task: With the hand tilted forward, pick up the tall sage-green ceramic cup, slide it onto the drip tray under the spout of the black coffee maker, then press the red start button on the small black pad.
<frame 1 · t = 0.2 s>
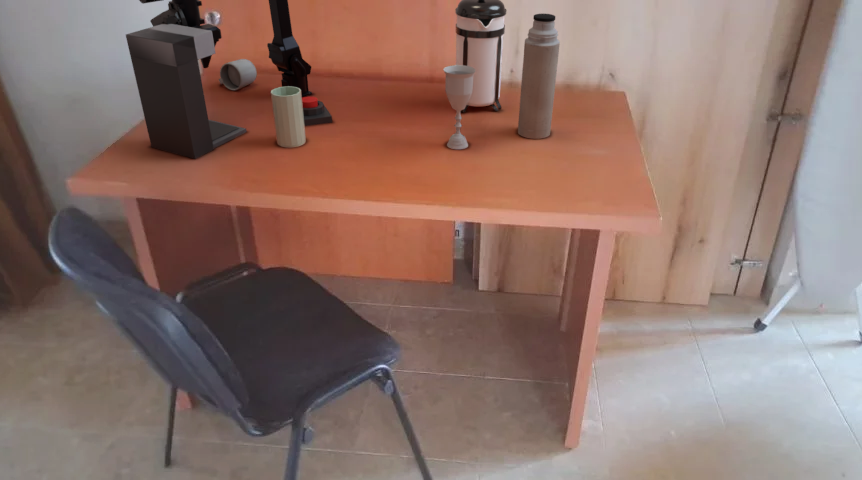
hand: (196, 63, 170), 15 cm above the table, tool pointing down, fingers open, 9 cm apart
coffee maker: (200, 139, 168), on the table
chalice: (457, 145, 166), on the table
button pad: (310, 117, 180), on the table
thermos bottle: (533, 133, 172), on the table
cup: (291, 142, 167), on the table
coffee press: (474, 104, 189), on the table
start button: (308, 102, 178), point 4 cm above the table, slide at 0.1 cm
ceramic mug: (236, 86, 201), on the table
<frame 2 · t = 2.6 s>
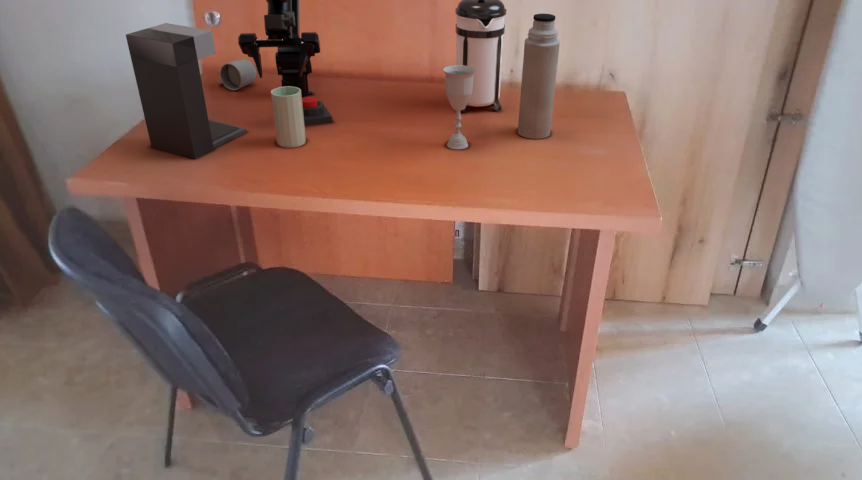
hand: (280, 76, 166), 13 cm above the table, tool tilted 40°, fingers open, 9 cm apart
nothing on the table moved.
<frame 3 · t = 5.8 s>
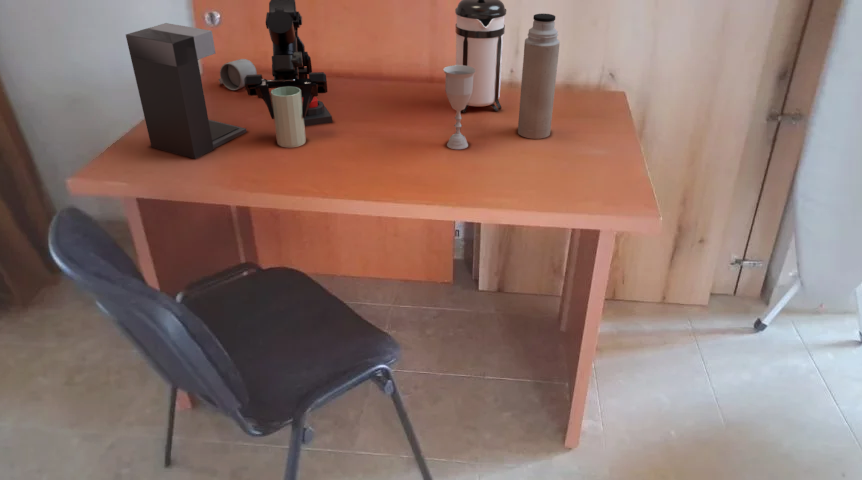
hand: (288, 117, 162), 7 cm above the table, tool tilted 45°, fingers closed on cup, 7 cm apart
cup: (291, 142, 167), on the table, touching gripper
everything else where it was.
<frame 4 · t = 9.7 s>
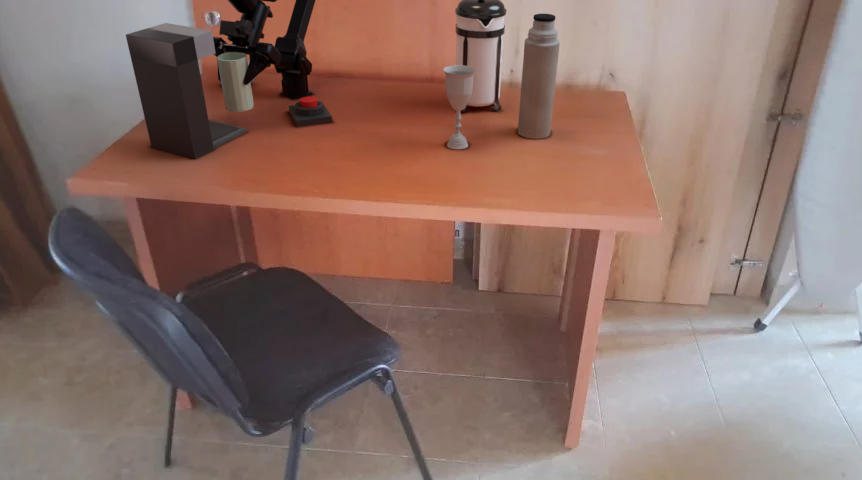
hand: (232, 82, 167), 12 cm above the table, tool tilted 45°, fingers closed on cup, 7 cm apart
cup: (239, 107, 172), point 5 cm above the table, touching gripper
everything else where it was.
when the fingers open (8 cm above the table, at t = 13.8 s): cup stays where it is, resting on coffee maker.
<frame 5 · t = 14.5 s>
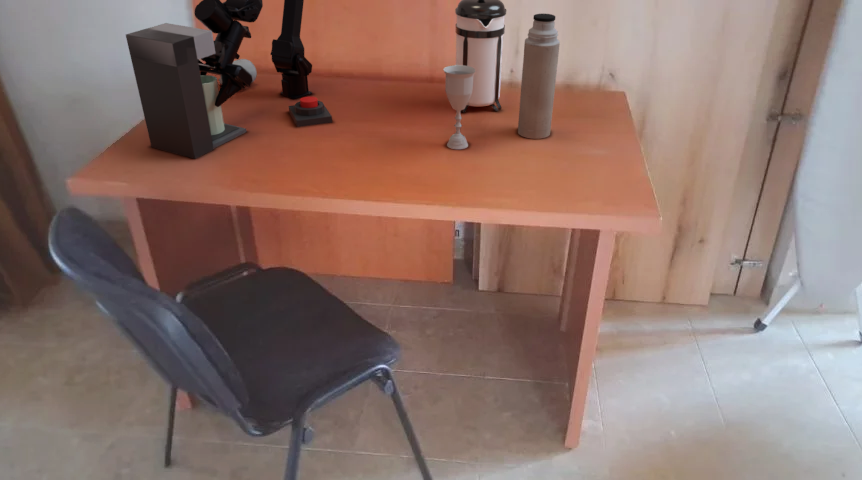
hand: (201, 102, 165), 8 cm above the table, tool tilted 45°, fingers open, 9 cm apart
cup: (210, 130, 170), point 1 cm above the table, touching coffee maker
everything else where it was.
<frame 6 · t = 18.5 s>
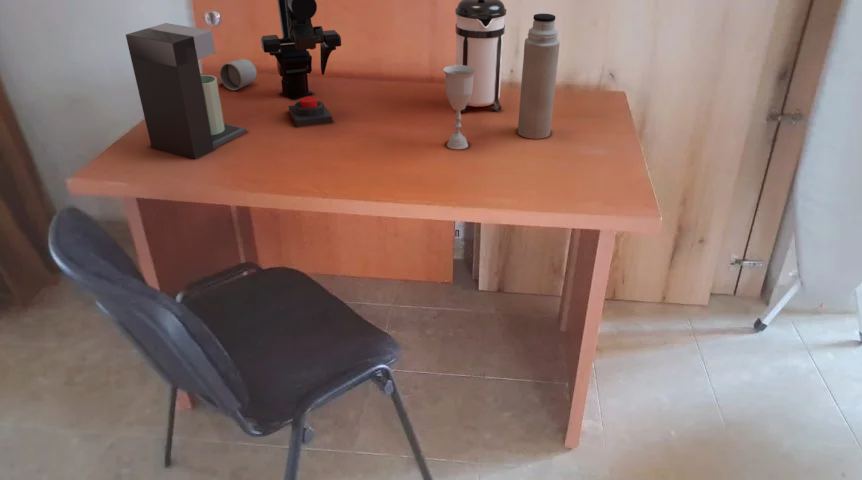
hand: (304, 76, 174), 11 cm above the table, tool pointing down, fingers open, 9 cm apart
nothing on the table moved.
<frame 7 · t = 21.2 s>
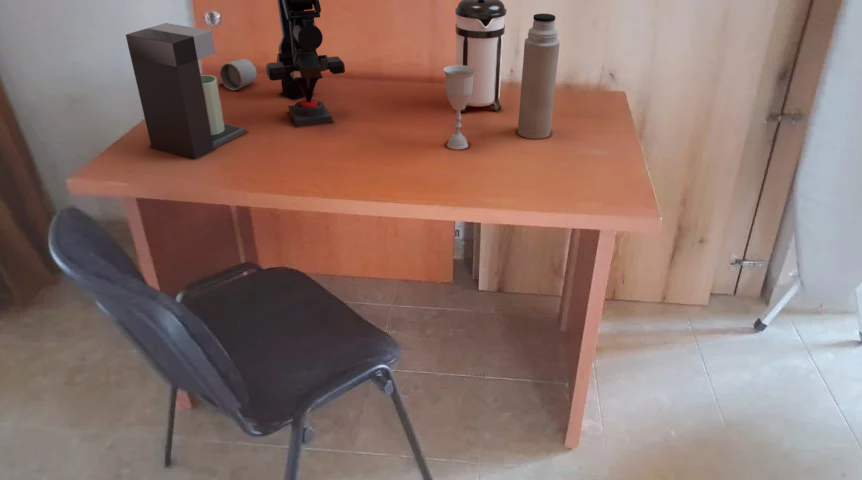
hand: (308, 101, 178), 4 cm above the table, tool pointing down, fingers closed, pressing on start button
start button: (309, 104, 179), point 3 cm above the table, slide at -0.5 cm, touching gripper
everything else where it was.
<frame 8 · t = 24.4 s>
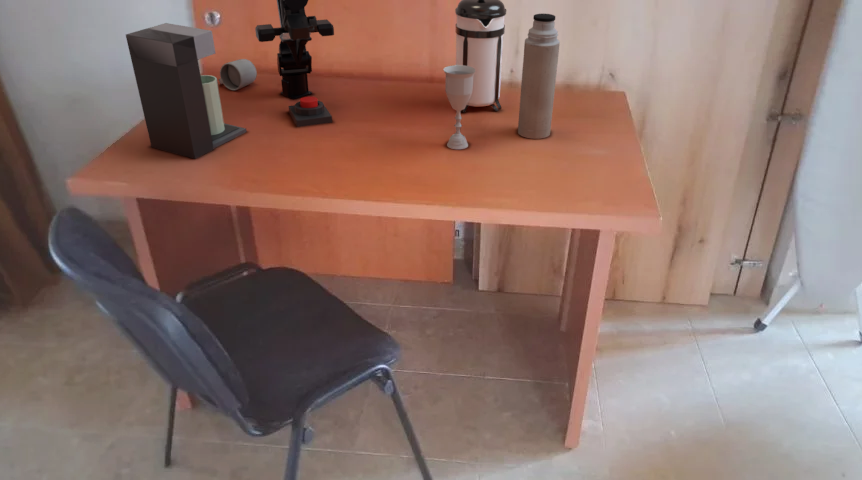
hand: (298, 64, 179), 12 cm above the table, tool pointing down, fingers closed
start button: (308, 102, 178), point 4 cm above the table, slide at 0.1 cm
everything else where it was.
at the end: cup 0.1 cm from the target spot on the coffee maker, point 1.2 cm above the coffee maker's base; cup tilted 0°; start button pushed in 1.0 cm at the most during the clip, back to where it started at the end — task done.
